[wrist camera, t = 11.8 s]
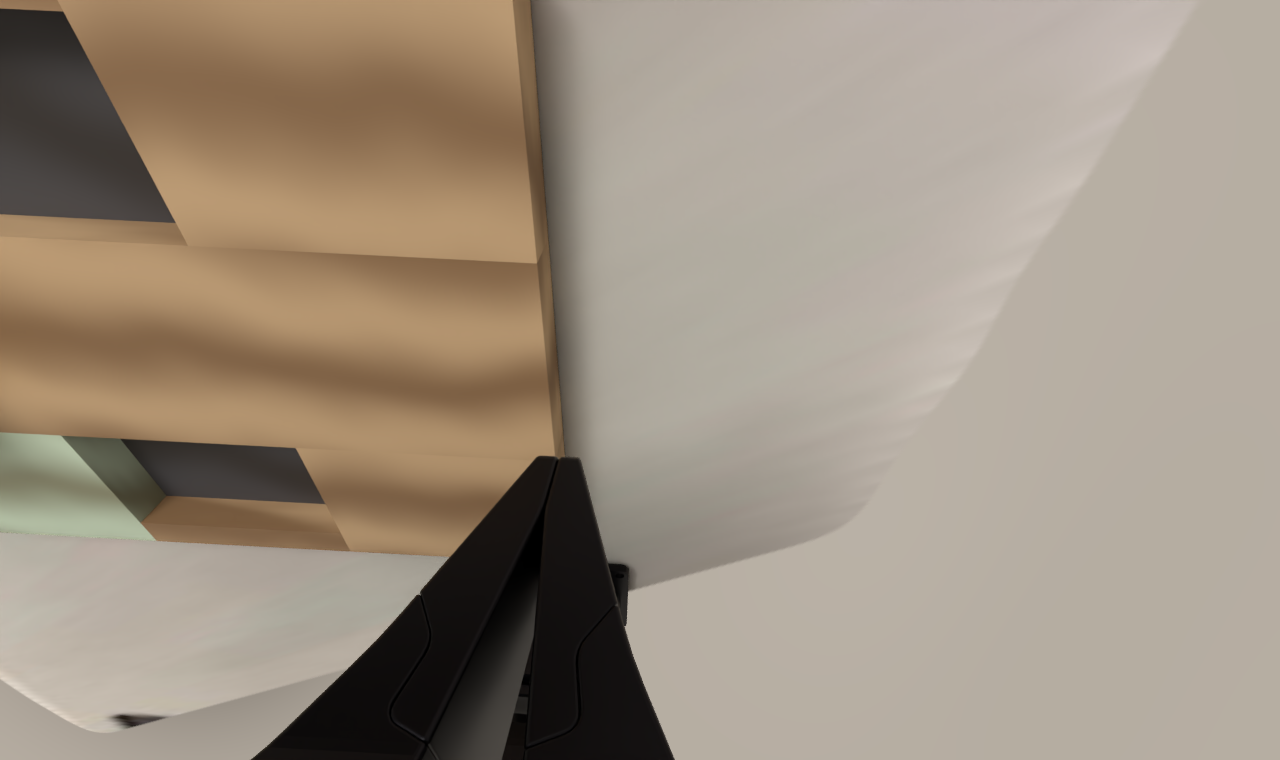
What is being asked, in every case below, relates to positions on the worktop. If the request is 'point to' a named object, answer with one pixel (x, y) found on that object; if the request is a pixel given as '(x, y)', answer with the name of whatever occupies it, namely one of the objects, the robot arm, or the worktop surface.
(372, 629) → the worktop surface
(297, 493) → the trap deck
